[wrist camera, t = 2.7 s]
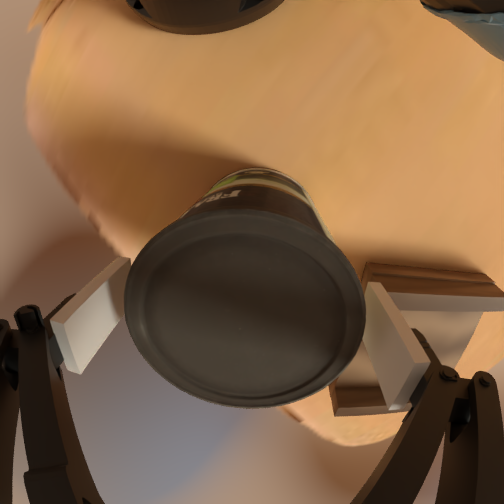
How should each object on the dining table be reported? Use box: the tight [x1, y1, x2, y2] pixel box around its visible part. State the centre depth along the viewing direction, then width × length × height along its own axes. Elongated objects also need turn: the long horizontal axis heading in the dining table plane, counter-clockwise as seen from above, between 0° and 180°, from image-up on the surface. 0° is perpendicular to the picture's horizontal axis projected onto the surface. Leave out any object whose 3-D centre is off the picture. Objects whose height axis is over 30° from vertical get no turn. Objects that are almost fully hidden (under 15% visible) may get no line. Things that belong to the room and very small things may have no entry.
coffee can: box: [124, 168, 366, 409], centre depth 18 cm, size 10×10×14 cm
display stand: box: [328, 262, 504, 416], centre depth 25 cm, size 16×16×5 cm
